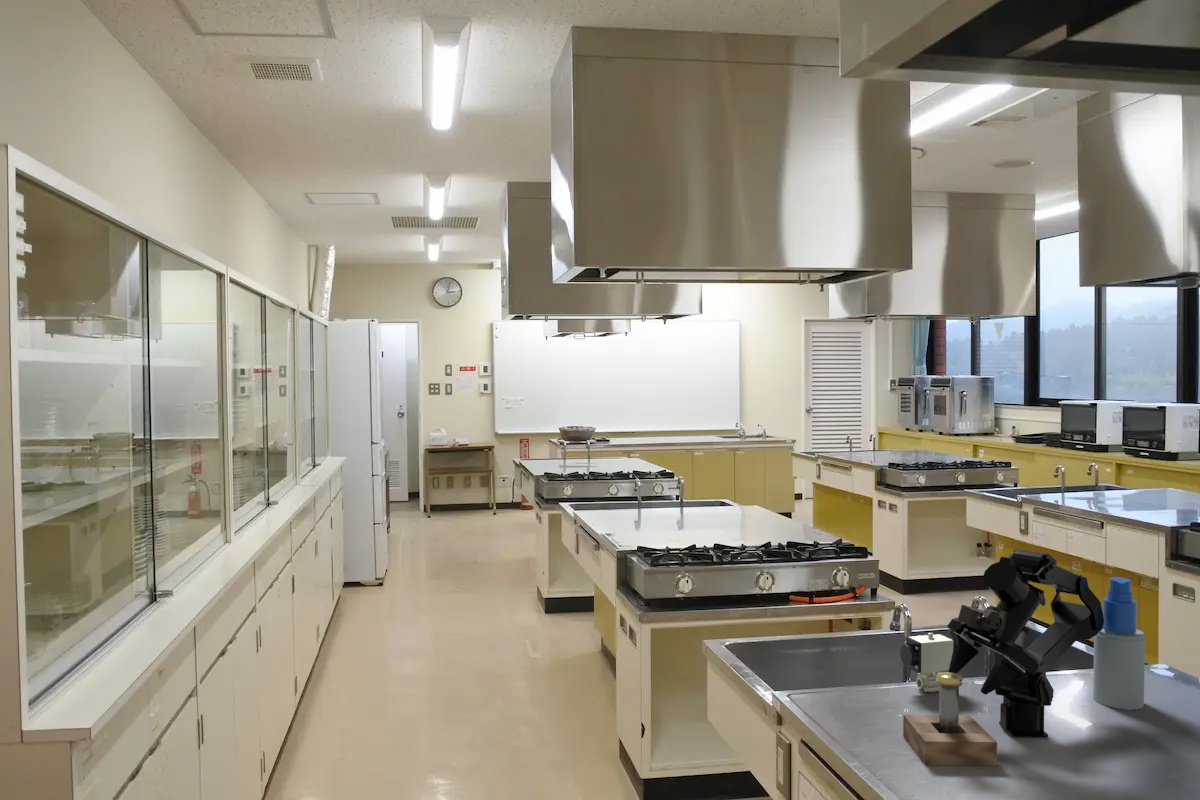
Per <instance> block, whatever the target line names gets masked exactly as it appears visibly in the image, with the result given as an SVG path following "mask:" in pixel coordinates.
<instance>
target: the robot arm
mask: <svg viewBox="0 0 1200 800" xmlns="http://www.w3.org/2000/svg"><path fill="white" fill-rule="evenodd" d="M1012 552H1013V553H1011V554H1009V555H1008V556H1000V558H999V561H997V562H994V563H991V565H990V566H988V567H987V568H986V569H985V570H984V572H983V581H984V584H985V585H986V587H987V588H988V589H989V590H990V591H991V592H992V593H993V595H995V596H996V597H997V598H998V600H999V601H998V603H997V605H996V606H993V605H989V606H988V607H987V608H985V609H984V610H982V609H980V608H977V607H974V606H973V607H972V606H969V605H966V604H961V606H960V610H959V612H958V616H957V617H954V618H951V620H950V622H949V623H948V624H947V626H946V627H947V629H948V630H949V635H950V636H951V638H952V639H953V642H954V648H953V654H952V658H951V662H950V667H949V670H947V672H950V673H955V674H958V673H959V672H960V671H961V670H962V669H964V668H965V666H967V665H968V663H969V662H970V661H972V659H974V658H975V657H976V656H977V655H978V654H979V653H980V651H979V650H978V649H979V648H981V647H983V646H984V647H985V648H987V649H989V650H992V651H994V664H993V665H994V666H993V667H992V669H991V671H990V672H989V674H988V676H987V677H986V678H985V681H984V682H983V684H982V686H981V689H980V692H981V693H982V694H983V695H988V694H990V693H992V692H993V691H995V695H996V696H1002V697H1003V698H1002V699H1003V701H1002V702H1001V703H1000V708H999V709H1000V712H999V713H1000V714H999V715H1000V718H999V721H998V723H999V725H1000V726H1001V728H1003V729H1004V730H1005V731H1006V732H1007V733H1008V734H1009V735H1010V736H1011V737H1014V738H1049V734H1048V733H1047V731H1046V730H1045V706H1046V707H1047V706H1048V707H1050V706H1052V702H1053V698H1054V692H1055V690H1054V688H1053V686H1052V685H1051V683H1050V681H1049V678H1048V677H1047V671H1048V670H1049V669H1050V668H1051V667H1052V666H1054V664H1055V663H1056V662H1057V661H1058V660H1059V659H1060V658H1061V657H1062V656H1063V655H1064V654H1065V653H1066V652H1067V651H1068V650H1069V648H1070V647H1072V646H1073V645H1074V644H1075V643H1076V642H1078V641H1088V640H1091V639H1092V638H1094V636H1096V635H1097V634H1098V633H1099V631H1101V630H1102V628H1103V624H1104V617H1103V606H1102V603H1101V601H1100V599H1099V598H1098V597H1097V596H1096V594H1095V593H1094V592H1093V591H1092V590H1091V589H1090V587H1089V583H1088V580H1087V577H1086V576H1083V574H1078V573H1075V572H1072V571H1070V570H1068V569H1066V568H1064V567H1061V566H1059V565H1057V564H1058V563H1057V562H1058V561H1057V559H1056V558H1054V556H1053V555H1052V554H1050V553H1047V552H1041V551H1040V552H1039V551H1032V550H1025V549H1019V548H1015V549H1014V550H1013V551H1012ZM1031 583H1034V584H1039V585H1045V586H1048V587H1051V588H1053V589H1054V590H1055V593H1056V594H1055V596H1054V597H1053V599H1052V600H1051V602H1050V607H1051V608H1050V609H1051V612H1052V617H1053V623H1052V624H1051V625H1050V626H1048V628H1046V629H1045V630H1044V631H1043V632H1042V633H1041V634H1040V635H1039V636H1038V637H1037V638H1036V639H1035V640H1034V641H1033V642H1032V643H1031V644H1030V645H1029V646H1028V647H1026V648H1024V646H1022V645H1019V644H1017V643H1016V641H1017V639H1018V638H1019V637H1020V634H1021V633H1022V634H1025V635H1027V634H1028V632H1029V631H1030V629H1029V628H1028V627H1027V626H1026V625H1027V624H1028V623H1029V620H1030V619H1031V617H1032V616H1033V615H1034V614H1035V611H1036V610H1037V608H1038V607H1039V606H1043V607H1044V606H1045V605H1046V598H1045V591H1044V590H1043V589H1040V588H1038V587H1036V586H1034V585H1032V584H1031ZM1062 593H1065V594H1069V595H1070V594H1071V595H1077V596H1078V597H1079V598H1078V599H1080V602H1082V603H1079V602H1078V603H1077V602H1071V601H1066V600H1062V597H1061V594H1062Z"/></svg>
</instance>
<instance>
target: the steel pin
mask: <svg viewBox="0 0 1200 800" xmlns="http://www.w3.org/2000/svg"><path fill="white" fill-rule="evenodd" d="M936 674H937V676H936V682H937V683H938V684H939V692H938V698H939V699H938V700H939V701H938V706H939V707H938V710H939V711H938V715H939V733H958V723H959V711H960V710H959V709H960V707H959V706H960V704H959V701H960V699H959V698H960V687H961V686H962V685H963V676H962V675H960V674H958V673H957V674H955V673H950V672H948V671H940V673H938V672H936Z"/></svg>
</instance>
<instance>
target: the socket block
mask: <svg viewBox="0 0 1200 800" xmlns="http://www.w3.org/2000/svg"><path fill="white" fill-rule="evenodd" d="M902 717H903V719H902V720H903V723H902V725H903V727H902V729H903V730H902V732H903V733H902V734H903V735H902V736H904V737H903V738H904V739H905V741H906V740H907V741H908V742H907V741H906V742H907V743H908V745H910V747H911V748H912V750H913V751H914V752H915V753H916V755H917V756H918V757H919V759H920V760H921V762H922V763H923V764H924V765H925V766H926V765H929V766H930V765H931V766H989V767H990V766H993V767H995V766H997V765H998V762H997V761H998V760H997V759H998V757H997V756H998V742H997V740H995V739H994V738H993V737H992V736H991V735H990V734H989V733H988V732H987V731H986V729H984V728H983V727H982V726H981V724H979V723H978V722H977V721H976V720H975V719H974V718H973V717H972V716H971V715H969V714H966V715H964V714H962V715H961V714H960V715H959V723H958V733H939V714H903V716H902Z"/></svg>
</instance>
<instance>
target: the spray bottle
mask: <svg viewBox="0 0 1200 800" xmlns="http://www.w3.org/2000/svg"><path fill="white" fill-rule="evenodd" d="M1108 581H1109V582H1108V583H1109V586H1108V588H1109V589H1107V592H1106V593H1107V594H1106V595H1107V596H1105V597H1103V598H1102V612H1103V617H1104V624H1103V628H1102V630H1101V631H1099V633H1098V634H1097V635H1096V636H1094V637H1093V675H1092V676H1093V683H1092V684H1093V687H1092V688H1093V691H1092V699H1093V700H1094V701H1095V702H1096V703H1098V704H1100V705H1103V706H1106V707H1109V708H1114V709H1118V710H1119V709H1120V710H1127V711H1128V710H1132V711H1134V709H1135V710H1140V708H1141V709H1143V708H1144V706H1145V674H1146V673H1145V667H1146V666H1145V663H1146V637H1145V634H1144V631H1141V629H1140V630H1139V629H1137V613H1138V612H1137V611H1138V610H1137V609H1138V602H1137V601H1136V600H1134V599H1133V592H1132V591H1131V590H1132V586H1131V585H1132V580H1131V579H1129V578H1126V577H1121V576H1111V577H1109V579H1108Z"/></svg>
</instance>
